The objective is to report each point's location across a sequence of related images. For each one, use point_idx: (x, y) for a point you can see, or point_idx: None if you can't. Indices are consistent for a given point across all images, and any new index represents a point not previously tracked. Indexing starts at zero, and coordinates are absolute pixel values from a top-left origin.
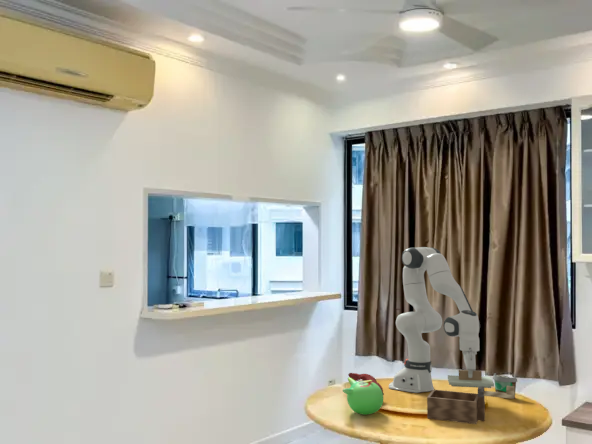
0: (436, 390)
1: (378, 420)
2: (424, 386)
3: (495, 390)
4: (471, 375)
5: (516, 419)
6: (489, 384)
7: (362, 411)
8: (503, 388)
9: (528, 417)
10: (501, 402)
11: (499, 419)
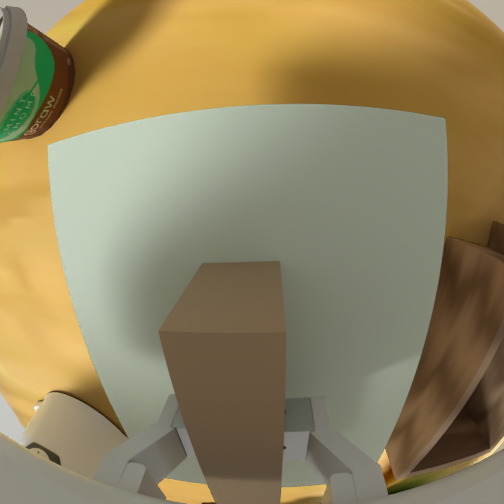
0: (412, 468)
1: (444, 468)
2: (108, 441)
3: (20, 138)
4: (328, 420)
5: (468, 74)
6: (442, 174)
7: None
8: (39, 82)
9: (421, 12)
10: (155, 90)
11: (487, 152)
